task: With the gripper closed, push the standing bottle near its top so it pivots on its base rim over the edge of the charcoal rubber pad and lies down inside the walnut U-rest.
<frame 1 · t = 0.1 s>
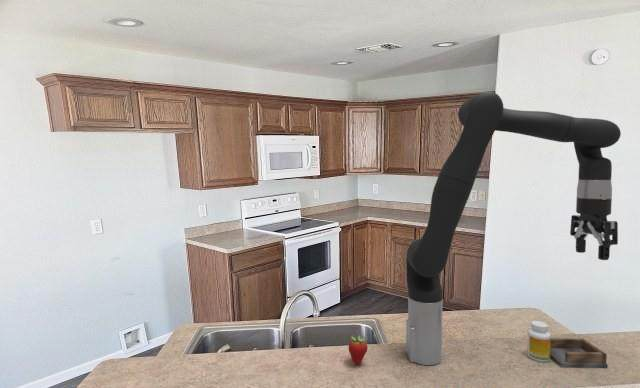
hand: (591, 255, 97), 29 cm above the countertop, fingers open, 8 cm apart
supplement bottle: (538, 358, 100), on the countertop
u rest: (571, 357, 99), on the countertop
fruit: (357, 364, 97), on the countertop
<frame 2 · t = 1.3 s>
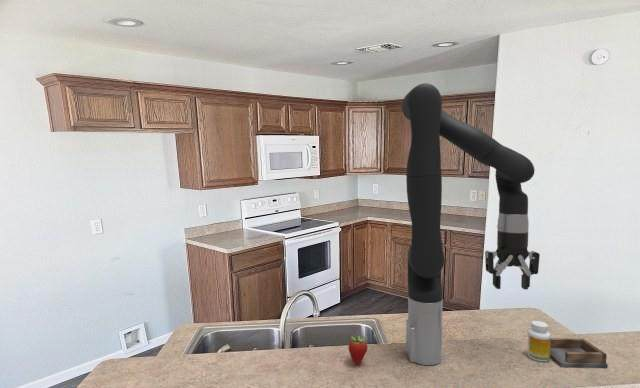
hand: (511, 288, 99), 20 cm above the countertop, fingers open, 7 cm apart
nothing on the countertop moved.
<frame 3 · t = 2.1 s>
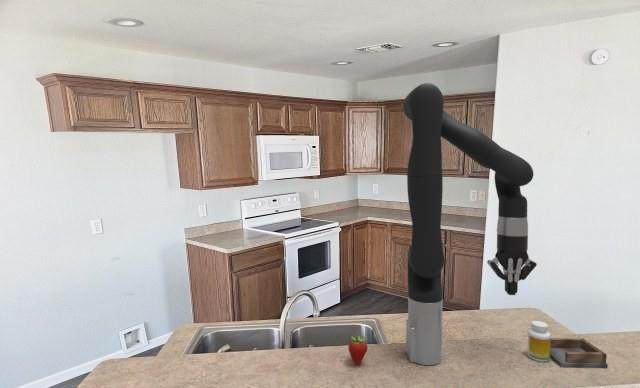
hand: (511, 294, 99), 18 cm above the countertop, fingers closed
nothing on the countertop moved.
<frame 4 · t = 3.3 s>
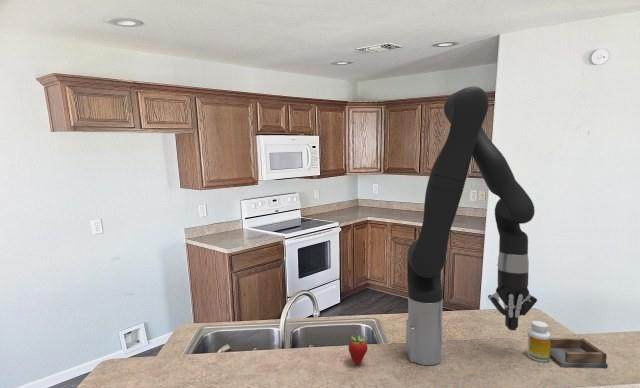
hand: (511, 329, 100), 8 cm above the countertop, fingers closed
nothing on the countertop moved.
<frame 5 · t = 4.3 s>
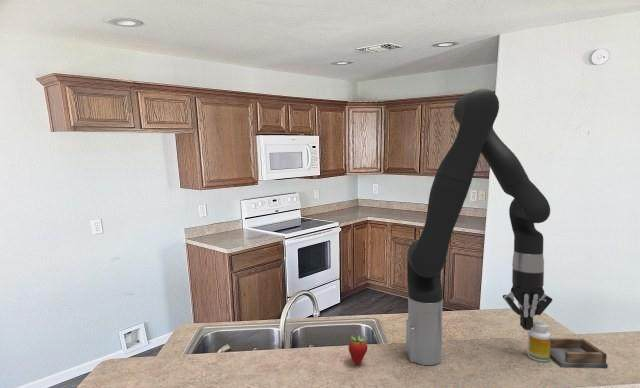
hand: (526, 328, 99), 8 cm above the countertop, fingers closed
supplement bottle: (538, 358, 100), on the countertop, touching gripper
everything else where it was.
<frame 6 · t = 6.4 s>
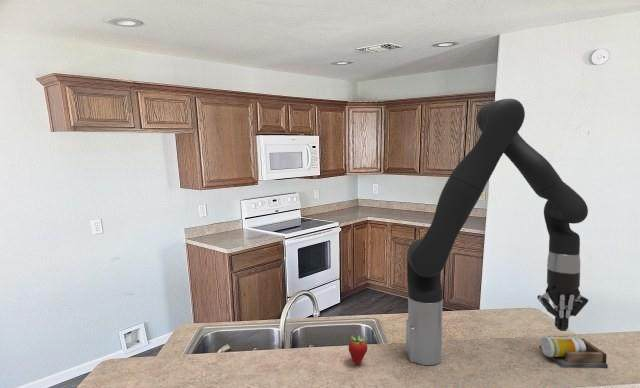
hand: (561, 329, 99), 8 cm above the countertop, fingers closed
supplement bottle: (544, 346, 98), point 4 cm above the countertop, touching u rest
everything else where it was.
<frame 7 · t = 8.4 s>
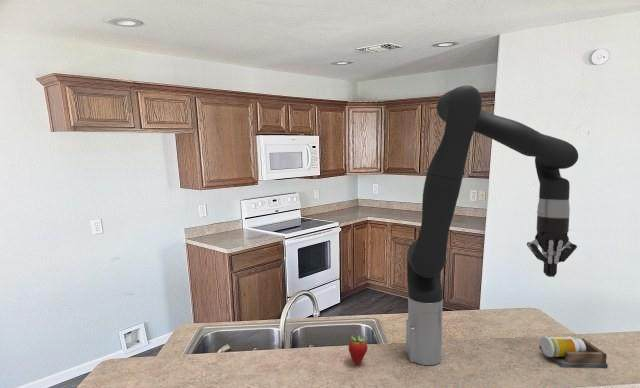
hand: (549, 276, 100), 23 cm above the countertop, fingers closed
nothing on the countertop moved.
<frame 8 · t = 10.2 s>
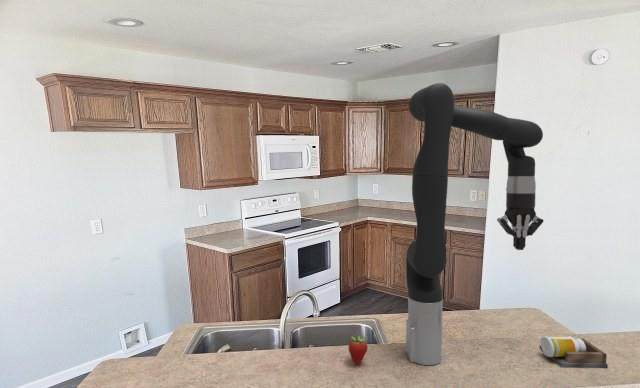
hand: (519, 249, 106), 29 cm above the countertop, fingers closed
nothing on the countertop moved.
at the end: supplement bottle tilted 90°; supplement bottle inside the target area on the u rest (6.0 cm from its centre), point 3.7 cm above the u rest's base; supplement bottle touching u rest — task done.
